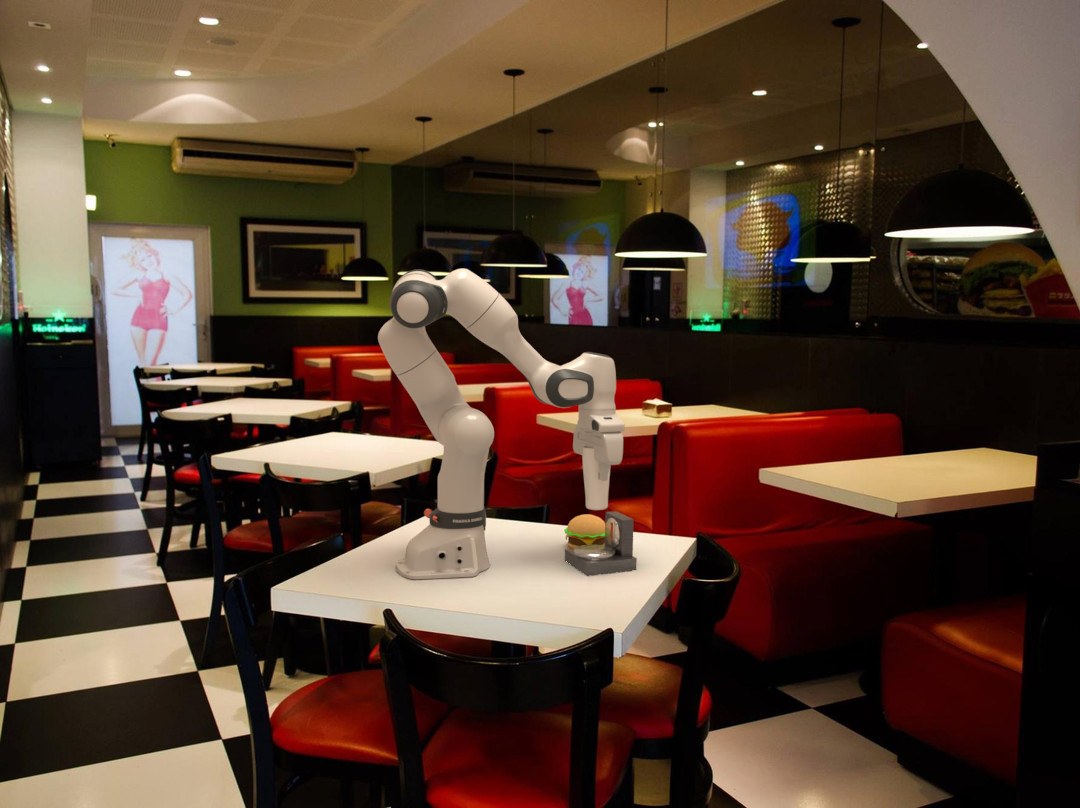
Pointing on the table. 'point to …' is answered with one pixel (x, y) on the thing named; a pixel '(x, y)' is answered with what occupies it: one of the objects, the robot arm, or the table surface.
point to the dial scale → (607, 549)
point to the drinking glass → (594, 482)
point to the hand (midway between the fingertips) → (595, 477)
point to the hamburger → (585, 531)
